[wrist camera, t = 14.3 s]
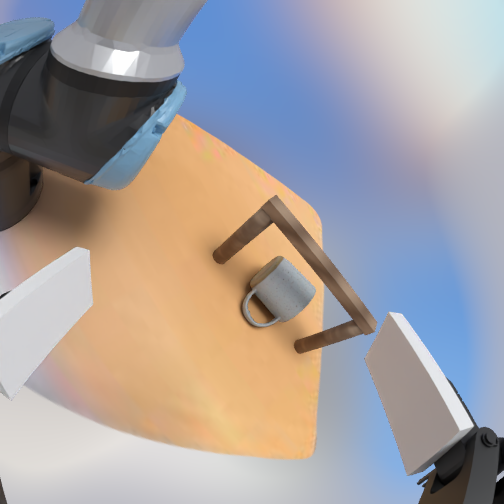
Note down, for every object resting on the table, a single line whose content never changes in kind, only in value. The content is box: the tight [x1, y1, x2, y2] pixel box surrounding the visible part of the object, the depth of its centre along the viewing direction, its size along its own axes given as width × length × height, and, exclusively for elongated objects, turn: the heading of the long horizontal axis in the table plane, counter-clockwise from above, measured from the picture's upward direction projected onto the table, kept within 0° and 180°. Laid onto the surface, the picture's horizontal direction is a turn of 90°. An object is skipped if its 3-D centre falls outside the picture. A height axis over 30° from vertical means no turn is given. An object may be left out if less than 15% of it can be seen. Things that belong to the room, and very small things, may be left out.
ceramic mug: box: [243, 256, 316, 327], centre depth 41 cm, size 11×8×8 cm
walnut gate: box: [213, 195, 377, 353], centre depth 38 cm, size 22×2×14 cm, turn 52°
